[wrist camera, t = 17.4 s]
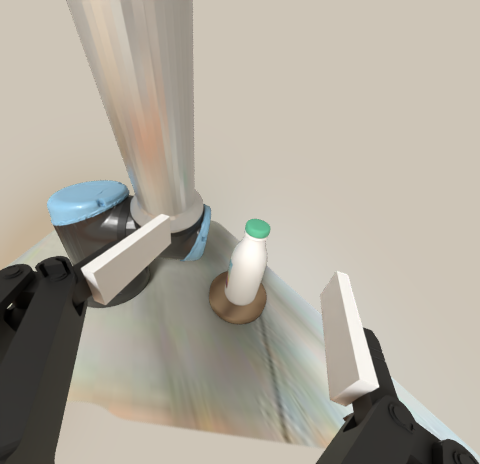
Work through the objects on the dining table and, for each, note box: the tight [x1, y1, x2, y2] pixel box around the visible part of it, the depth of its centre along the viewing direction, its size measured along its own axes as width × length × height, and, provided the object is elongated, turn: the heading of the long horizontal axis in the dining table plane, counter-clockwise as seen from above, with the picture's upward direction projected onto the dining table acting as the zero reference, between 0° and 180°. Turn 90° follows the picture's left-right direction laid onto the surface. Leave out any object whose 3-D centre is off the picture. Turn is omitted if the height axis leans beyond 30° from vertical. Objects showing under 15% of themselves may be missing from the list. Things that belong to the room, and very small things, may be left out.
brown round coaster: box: [209, 271, 266, 324], centre depth 46 cm, size 14×14×2 cm
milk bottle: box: [225, 219, 270, 306], centre depth 40 cm, size 8×8×20 cm
